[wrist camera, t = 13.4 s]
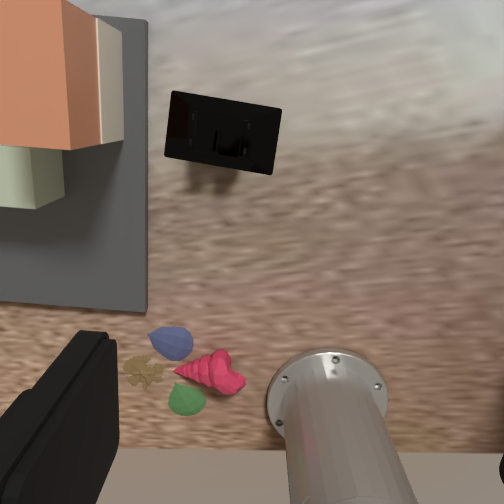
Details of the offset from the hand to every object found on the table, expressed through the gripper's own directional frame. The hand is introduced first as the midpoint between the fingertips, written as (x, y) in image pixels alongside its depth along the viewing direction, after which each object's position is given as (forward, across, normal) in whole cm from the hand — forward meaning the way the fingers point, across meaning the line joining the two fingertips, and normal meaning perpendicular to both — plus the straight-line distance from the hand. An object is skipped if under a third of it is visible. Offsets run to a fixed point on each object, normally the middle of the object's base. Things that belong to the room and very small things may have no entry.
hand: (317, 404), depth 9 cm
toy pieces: (+29, +8, +20) cm, 36 cm away
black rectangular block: (+29, +5, -4) cm, 30 cm away
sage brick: (+27, +22, 0) cm, 35 cm away
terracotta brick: (+22, +15, -7) cm, 28 cm away
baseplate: (+28, +18, 0) cm, 34 cm away
